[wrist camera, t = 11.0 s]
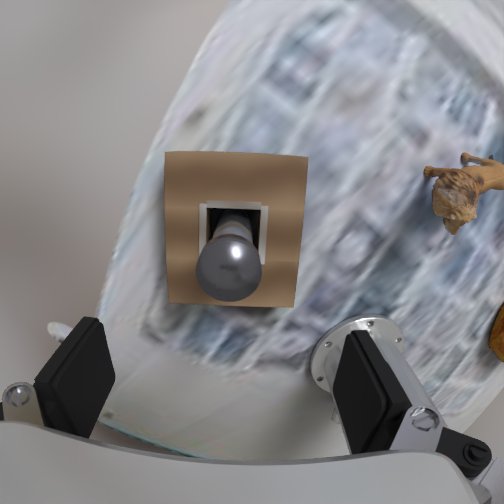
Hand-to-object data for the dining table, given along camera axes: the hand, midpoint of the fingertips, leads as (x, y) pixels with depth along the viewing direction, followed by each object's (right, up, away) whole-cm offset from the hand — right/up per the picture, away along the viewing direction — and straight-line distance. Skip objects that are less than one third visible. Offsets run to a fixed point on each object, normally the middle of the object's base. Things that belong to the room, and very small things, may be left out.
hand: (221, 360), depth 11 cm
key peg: (-1, +7, +19) cm, 20 cm away
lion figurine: (+24, +12, +18) cm, 32 cm away
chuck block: (-1, +7, +19) cm, 20 cm away
